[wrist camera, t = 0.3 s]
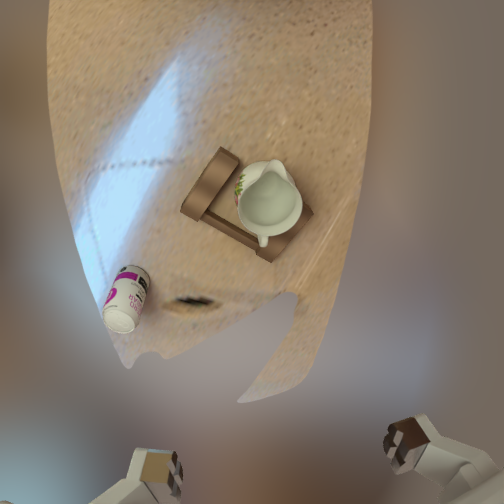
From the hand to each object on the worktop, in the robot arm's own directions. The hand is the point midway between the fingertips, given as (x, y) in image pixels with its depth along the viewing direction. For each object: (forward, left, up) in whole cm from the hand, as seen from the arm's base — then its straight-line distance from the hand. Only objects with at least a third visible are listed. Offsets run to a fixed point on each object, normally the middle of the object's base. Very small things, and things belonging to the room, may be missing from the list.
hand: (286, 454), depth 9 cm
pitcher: (+4, +9, -52) cm, 53 cm away
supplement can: (+39, -3, -52) cm, 65 cm away
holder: (+9, +9, -52) cm, 53 cm away
